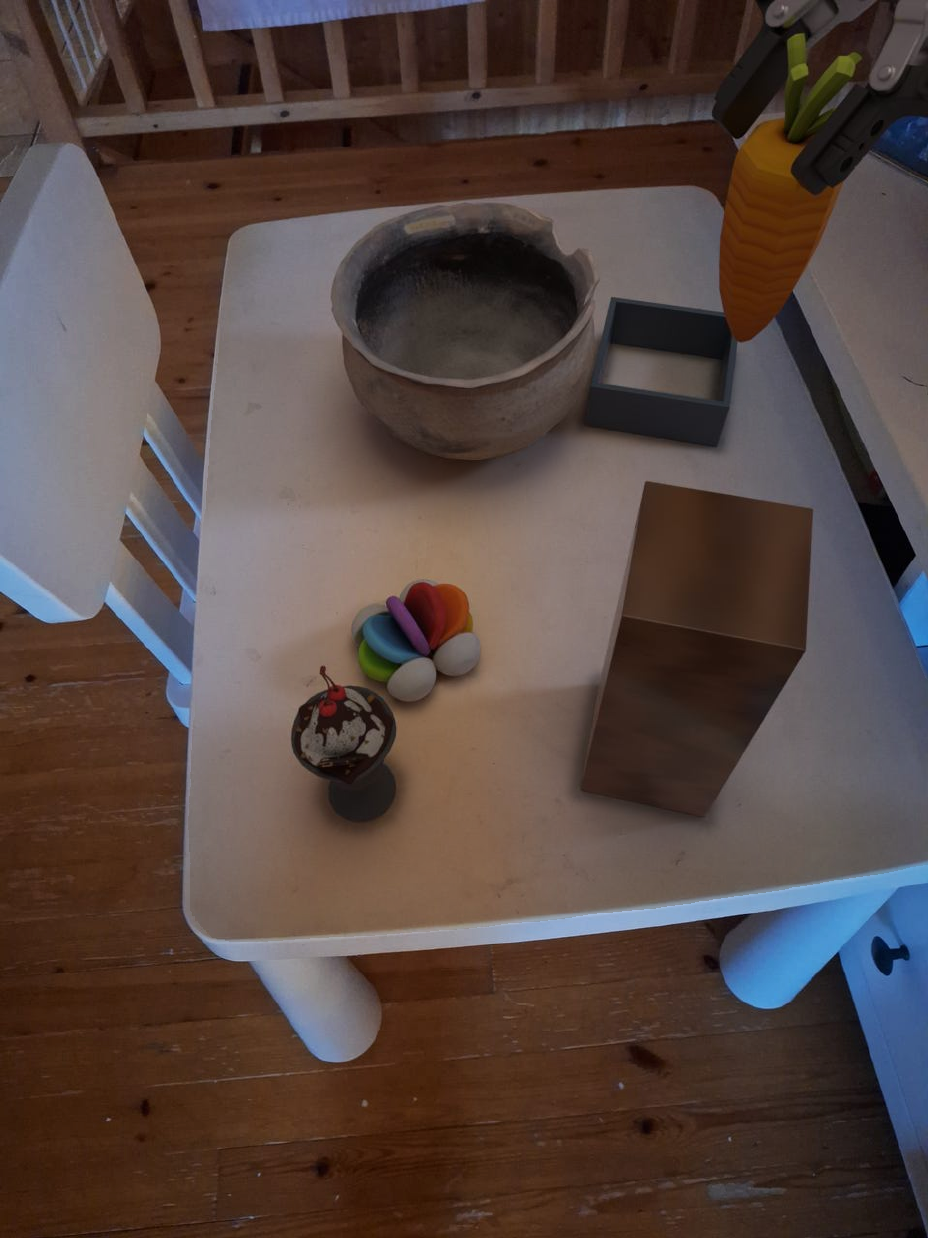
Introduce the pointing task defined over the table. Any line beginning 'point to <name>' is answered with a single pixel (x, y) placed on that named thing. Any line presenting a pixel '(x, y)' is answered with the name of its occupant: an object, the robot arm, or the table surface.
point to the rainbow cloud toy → (416, 638)
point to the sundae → (348, 748)
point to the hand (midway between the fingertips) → (763, 153)
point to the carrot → (776, 202)
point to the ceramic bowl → (466, 327)
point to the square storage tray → (659, 409)
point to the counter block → (697, 644)
